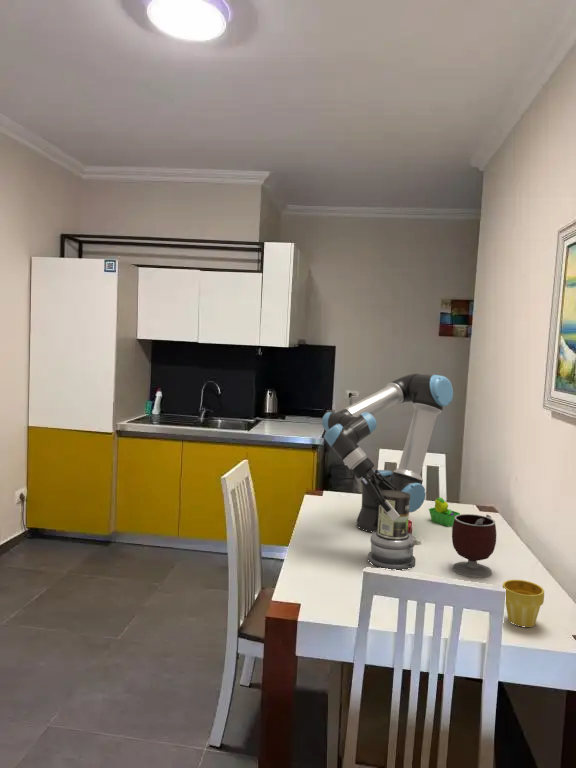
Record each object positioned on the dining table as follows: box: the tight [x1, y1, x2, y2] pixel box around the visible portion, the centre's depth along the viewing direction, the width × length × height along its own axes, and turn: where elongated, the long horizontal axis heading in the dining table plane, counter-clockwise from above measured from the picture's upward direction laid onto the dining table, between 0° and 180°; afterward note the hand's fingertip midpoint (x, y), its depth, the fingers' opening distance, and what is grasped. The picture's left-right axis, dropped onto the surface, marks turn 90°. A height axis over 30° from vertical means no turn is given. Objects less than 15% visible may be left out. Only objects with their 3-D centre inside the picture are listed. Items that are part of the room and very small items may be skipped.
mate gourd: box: [451, 513, 497, 579], centre depth 192 cm, size 16×14×20 cm
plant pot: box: [502, 579, 545, 628], centre depth 157 cm, size 10×10×10 cm
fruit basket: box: [428, 497, 461, 527], centre depth 246 cm, size 11×9×11 cm
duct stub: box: [367, 530, 417, 571], centre depth 199 cm, size 16×16×9 cm
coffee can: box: [377, 490, 410, 539], centre depth 199 cm, size 10×10×14 cm
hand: (401, 513), depth 197 cm, fingers open, 12 cm apart
